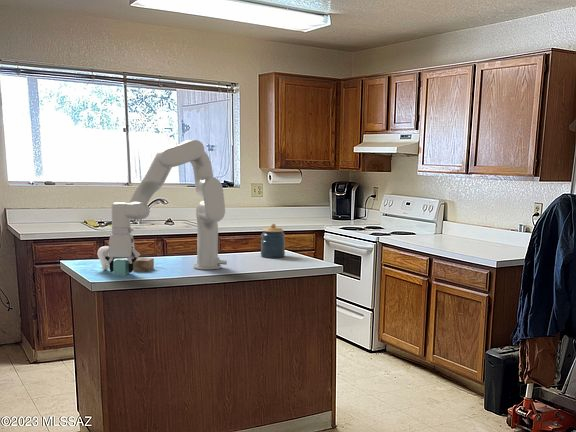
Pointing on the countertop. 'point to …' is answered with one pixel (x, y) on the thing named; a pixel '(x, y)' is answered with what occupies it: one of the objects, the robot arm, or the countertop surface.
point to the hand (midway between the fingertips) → (121, 271)
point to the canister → (272, 242)
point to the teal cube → (120, 267)
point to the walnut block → (143, 264)
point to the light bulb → (103, 261)
